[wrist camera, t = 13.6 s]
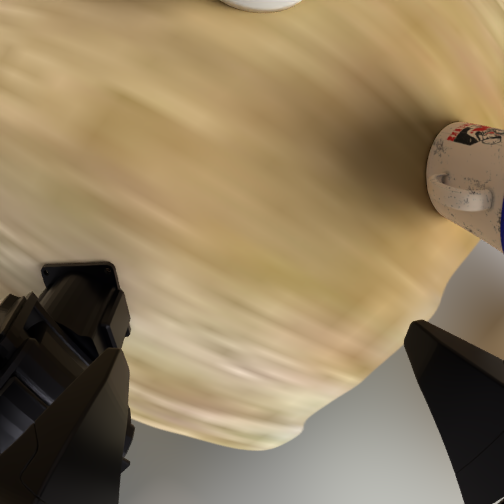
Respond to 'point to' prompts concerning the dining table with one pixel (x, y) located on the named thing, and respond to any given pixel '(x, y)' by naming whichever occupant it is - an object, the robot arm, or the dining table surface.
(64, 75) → the dining table surface
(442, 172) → the white printed mug
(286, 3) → the spool
